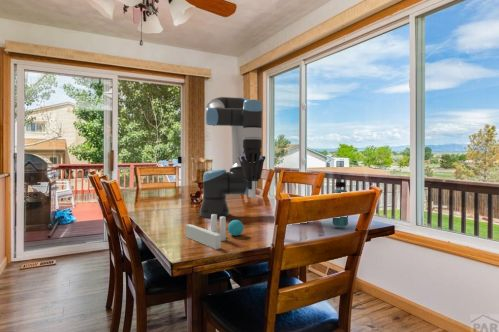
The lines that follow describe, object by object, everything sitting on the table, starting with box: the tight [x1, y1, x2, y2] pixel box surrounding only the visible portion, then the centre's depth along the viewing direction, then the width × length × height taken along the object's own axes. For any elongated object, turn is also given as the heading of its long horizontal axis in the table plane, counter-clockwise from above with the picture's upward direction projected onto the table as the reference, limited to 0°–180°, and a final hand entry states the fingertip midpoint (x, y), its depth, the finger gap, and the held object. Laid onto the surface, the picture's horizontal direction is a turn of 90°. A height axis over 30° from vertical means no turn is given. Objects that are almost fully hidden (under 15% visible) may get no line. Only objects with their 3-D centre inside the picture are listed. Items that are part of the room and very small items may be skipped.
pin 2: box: [219, 216, 227, 242], centre depth 110 cm, size 2×2×8 cm
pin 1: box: [210, 214, 218, 233], centre depth 115 cm, size 2×2×8 cm
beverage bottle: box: [332, 181, 349, 227], centre depth 130 cm, size 6×7×20 cm
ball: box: [227, 219, 244, 237], centre depth 117 cm, size 6×6×6 cm
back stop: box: [185, 223, 222, 250], centre depth 108 cm, size 20×2×4 cm, turn 41°
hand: (251, 197), depth 123 cm, fingers closed
